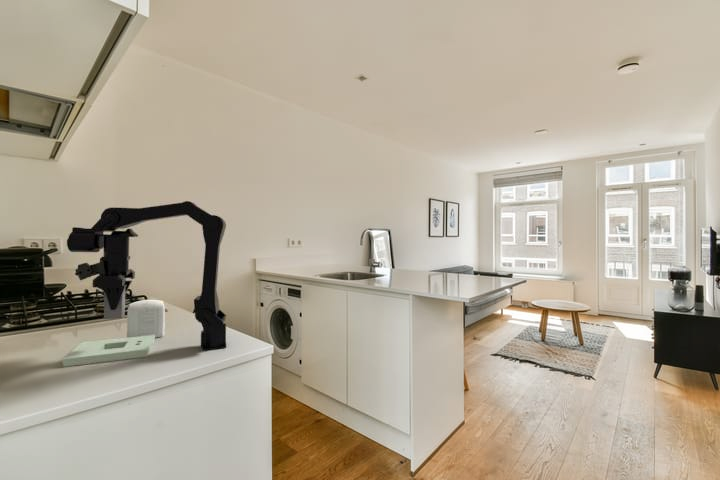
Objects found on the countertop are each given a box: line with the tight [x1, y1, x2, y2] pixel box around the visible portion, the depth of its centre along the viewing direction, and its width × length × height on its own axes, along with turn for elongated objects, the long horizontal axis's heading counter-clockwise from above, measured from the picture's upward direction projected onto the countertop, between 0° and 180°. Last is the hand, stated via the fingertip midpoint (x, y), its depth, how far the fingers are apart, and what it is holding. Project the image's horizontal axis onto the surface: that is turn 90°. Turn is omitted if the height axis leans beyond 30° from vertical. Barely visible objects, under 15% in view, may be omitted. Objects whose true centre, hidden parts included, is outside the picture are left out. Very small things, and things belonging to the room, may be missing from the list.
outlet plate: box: [62, 335, 156, 368], centre depth 93 cm, size 18×16×2 cm
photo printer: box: [126, 299, 166, 338], centre depth 105 cm, size 10×4×12 cm, turn 123°
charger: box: [103, 290, 126, 320], centre depth 91 cm, size 4×4×8 cm
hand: (115, 308), depth 91 cm, fingers closed on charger, 4 cm apart
